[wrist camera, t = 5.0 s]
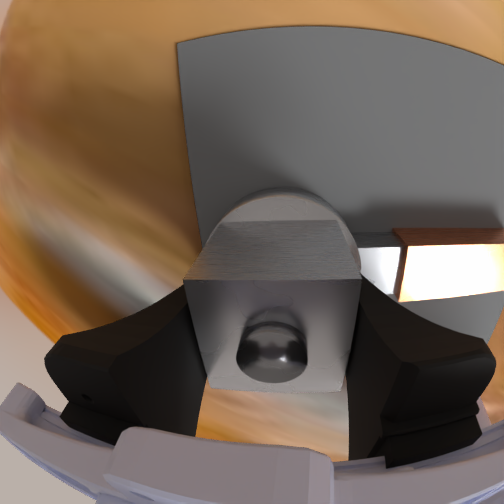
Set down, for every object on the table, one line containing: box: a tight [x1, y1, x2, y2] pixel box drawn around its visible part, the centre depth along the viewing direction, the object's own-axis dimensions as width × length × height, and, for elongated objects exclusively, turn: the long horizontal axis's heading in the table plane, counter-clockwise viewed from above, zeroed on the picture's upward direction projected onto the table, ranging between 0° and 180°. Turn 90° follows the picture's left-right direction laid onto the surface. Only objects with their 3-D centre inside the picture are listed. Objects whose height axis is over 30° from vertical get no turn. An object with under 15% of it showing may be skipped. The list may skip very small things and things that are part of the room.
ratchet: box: [206, 187, 504, 302], centre depth 11 cm, size 7×17×4 cm, turn 95°
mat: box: [177, 26, 504, 375], centre depth 13 cm, size 20×20×1 cm
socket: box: [183, 220, 362, 393], centre depth 10 cm, size 5×5×5 cm
